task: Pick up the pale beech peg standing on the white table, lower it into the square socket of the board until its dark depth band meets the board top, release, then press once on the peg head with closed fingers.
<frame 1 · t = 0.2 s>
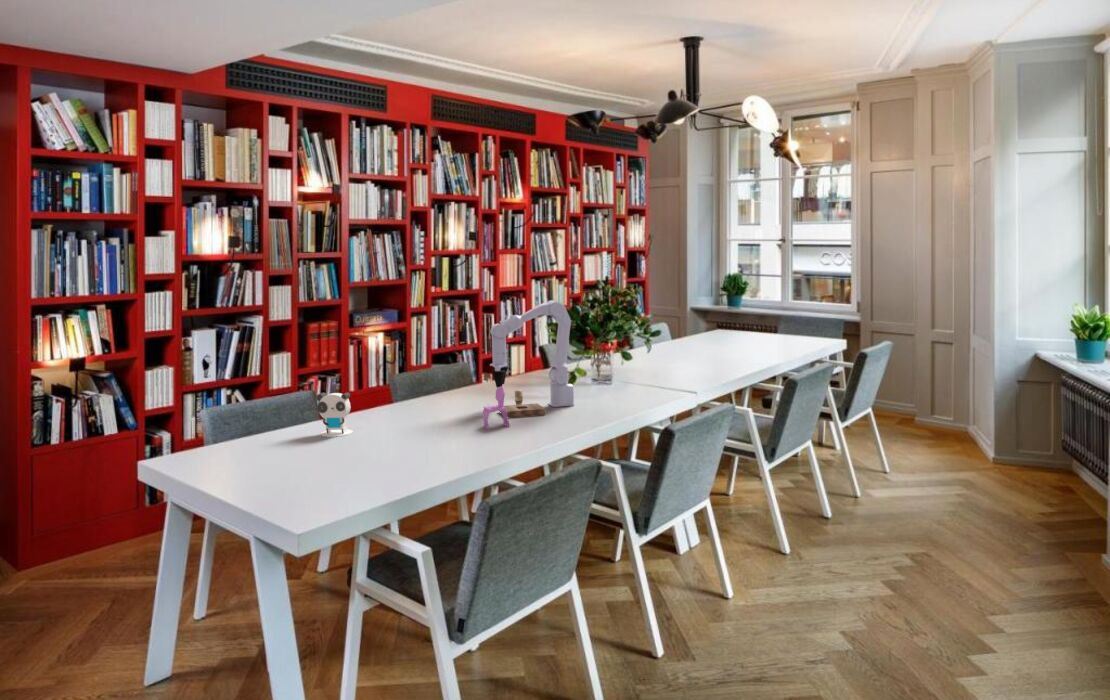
hand: (500, 385, 337), 10 cm above the table, tool pointing down, fingers open, 7 cm apart
panda figurine: (335, 433, 299), on the table
board: (522, 413, 329), on the table
toy chair: (496, 427, 306), on the table
peg: (519, 407, 342), on the table
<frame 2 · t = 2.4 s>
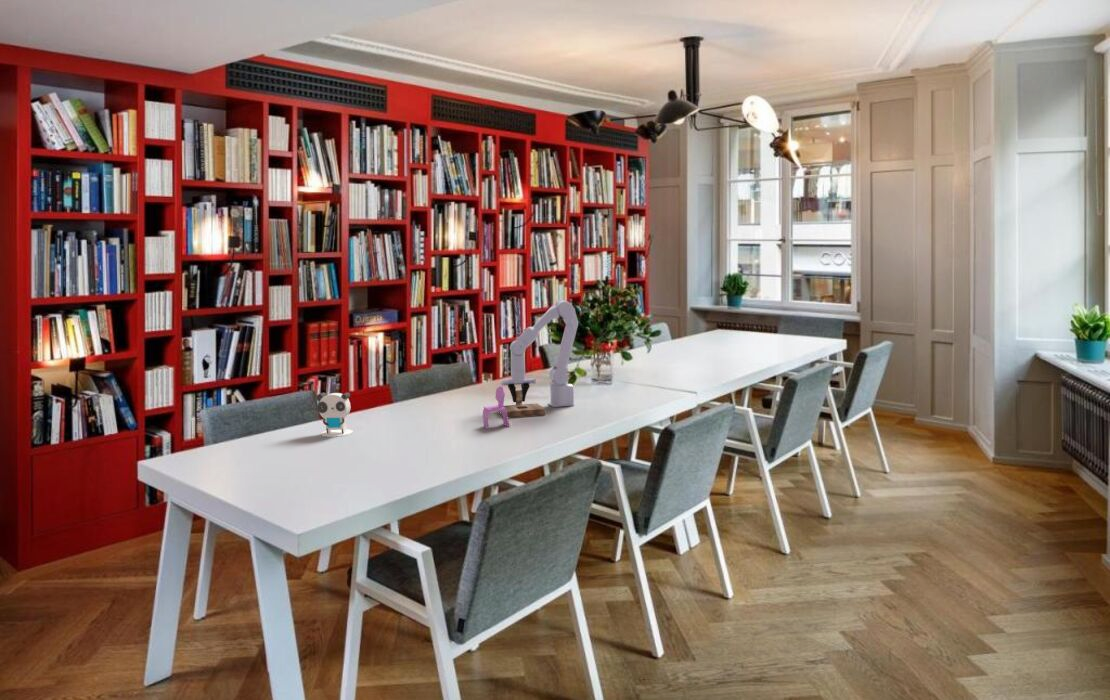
hand: (518, 401, 341), 2 cm above the table, tool pointing down, fingers closed on peg, 3 cm apart
peg: (518, 407, 342), on the table, touching gripper
everything else where it was.
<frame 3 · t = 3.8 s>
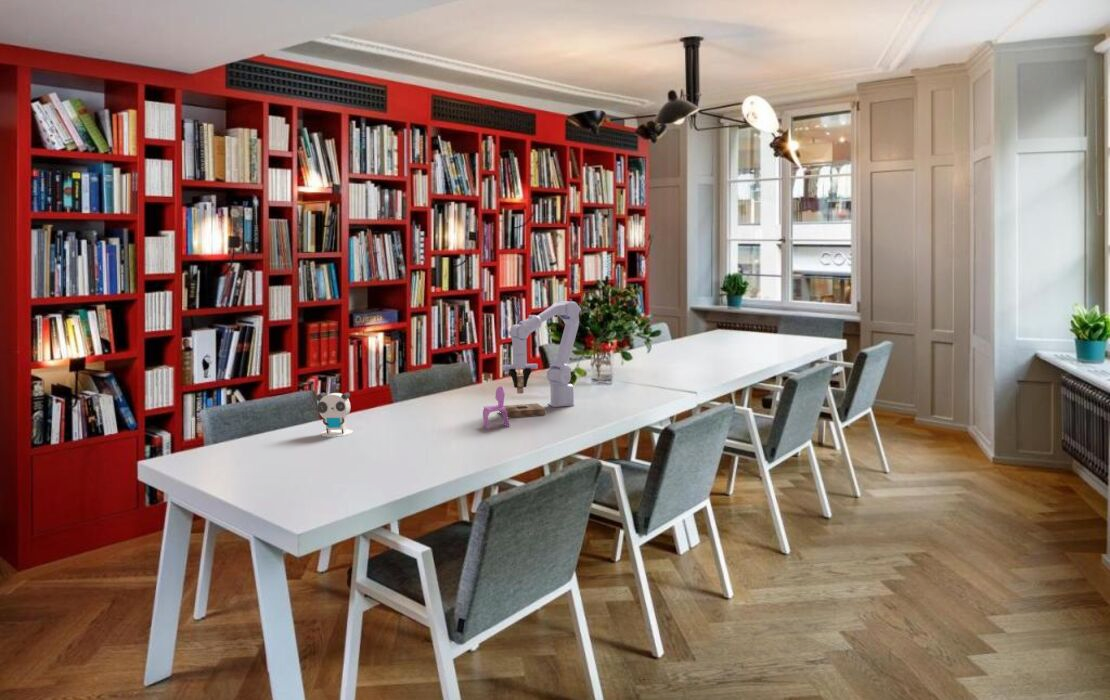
hand: (520, 387, 332), 10 cm above the table, tool pointing down, fingers closed on peg, 3 cm apart
peg: (520, 393, 332), point 8 cm above the table, touching gripper
everything else where it was.
when the fingers open (4 cm above the table, at t = 5.6 s): peg drops 1 cm, resting in board.
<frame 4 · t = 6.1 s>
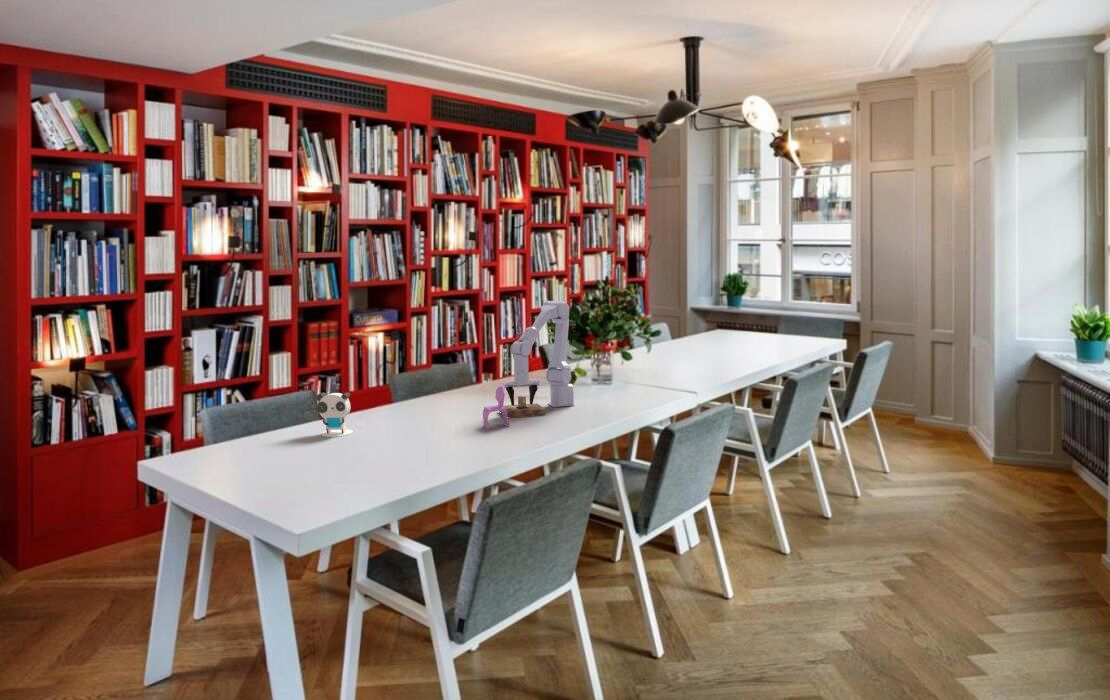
hand: (522, 404, 328), 4 cm above the table, tool pointing down, fingers open, 7 cm apart
peg: (522, 413, 329), resting in board
everything else where it was.
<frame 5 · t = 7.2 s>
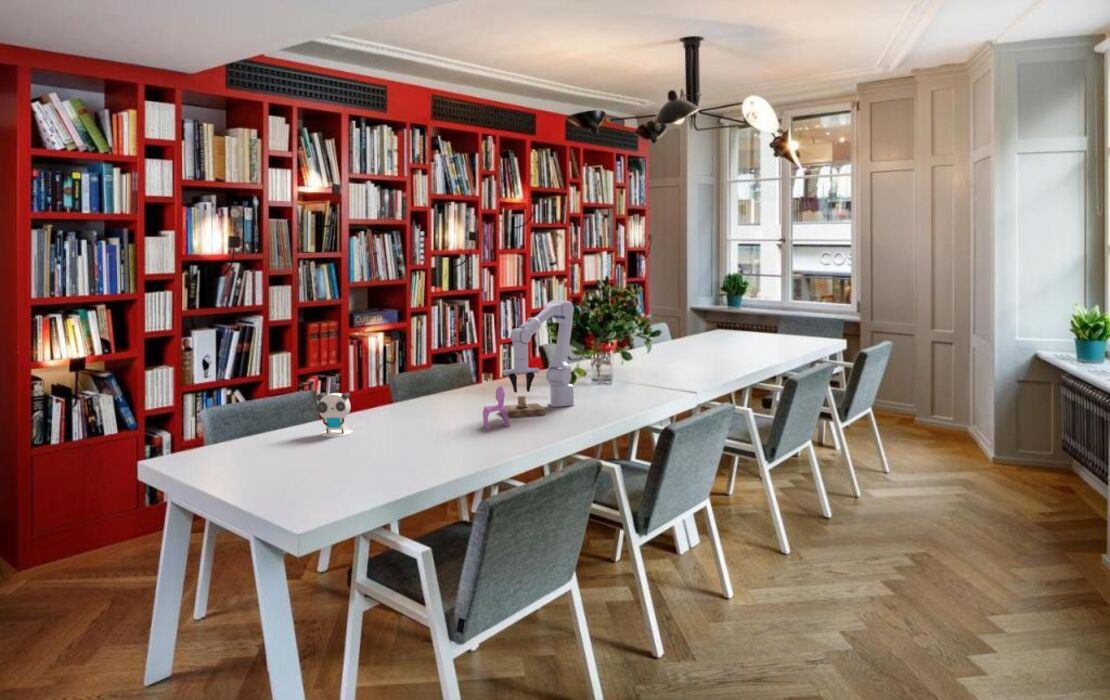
hand: (521, 391, 327), 9 cm above the table, tool pointing down, fingers open, 5 cm apart
nothing on the table moved.
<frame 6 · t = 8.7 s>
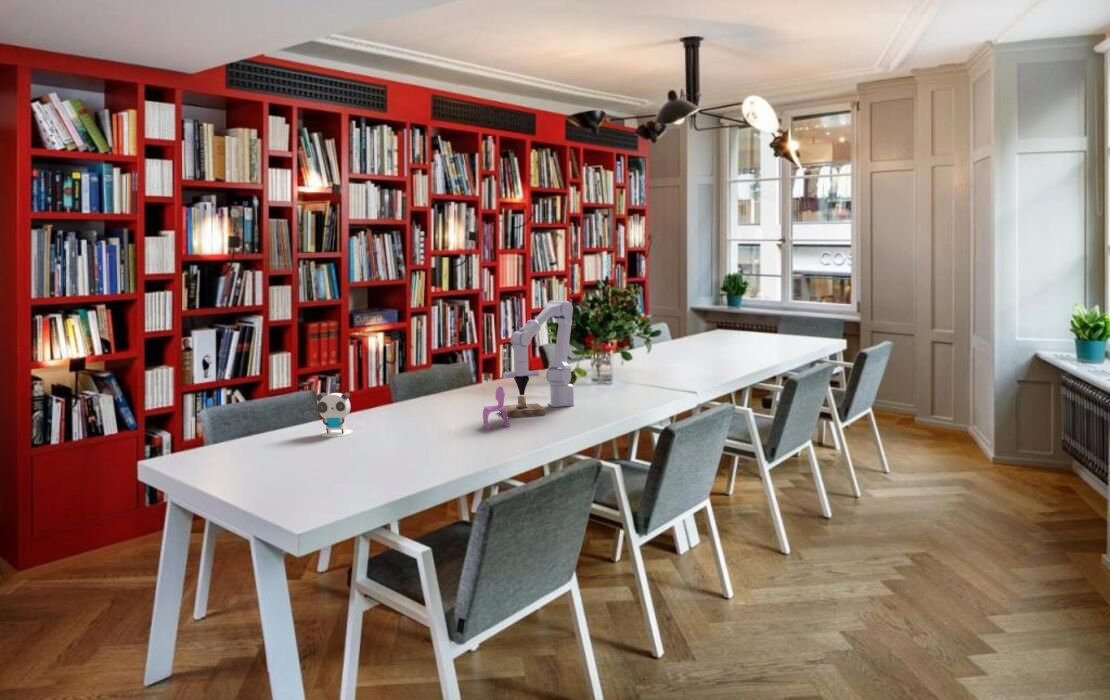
hand: (521, 394, 328), 8 cm above the table, tool pointing down, fingers closed
nothing on the table moved.
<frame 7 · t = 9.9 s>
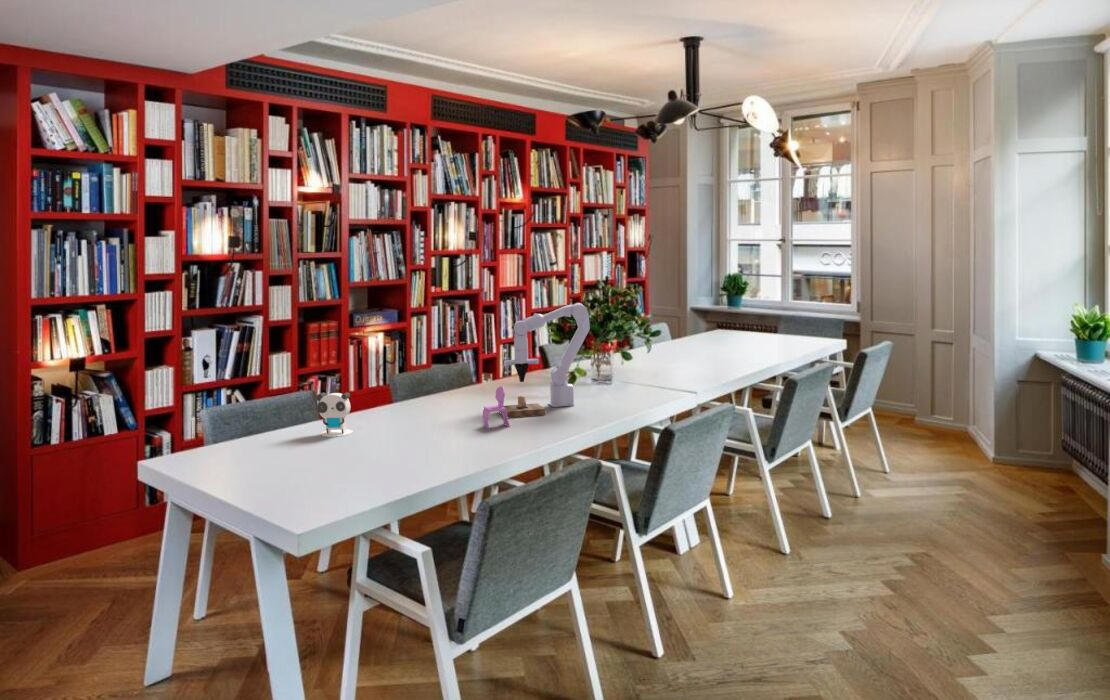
hand: (521, 381, 343), 10 cm above the table, tool pointing down, fingers closed
nothing on the table moved.
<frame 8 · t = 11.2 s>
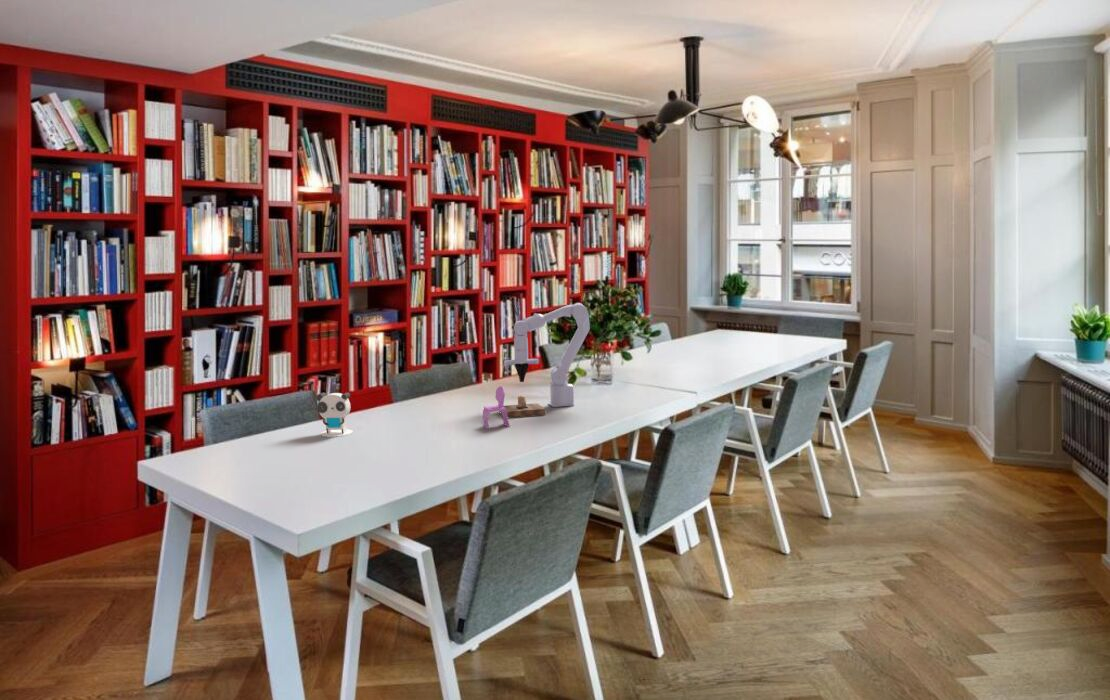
hand: (521, 381, 343), 10 cm above the table, tool pointing down, fingers closed
nothing on the table moved.
at the end: peg 0.1 cm off-centre on the board, point 0.0 cm above the board's base; peg tilted 0°; the gripper is holding nothing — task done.
